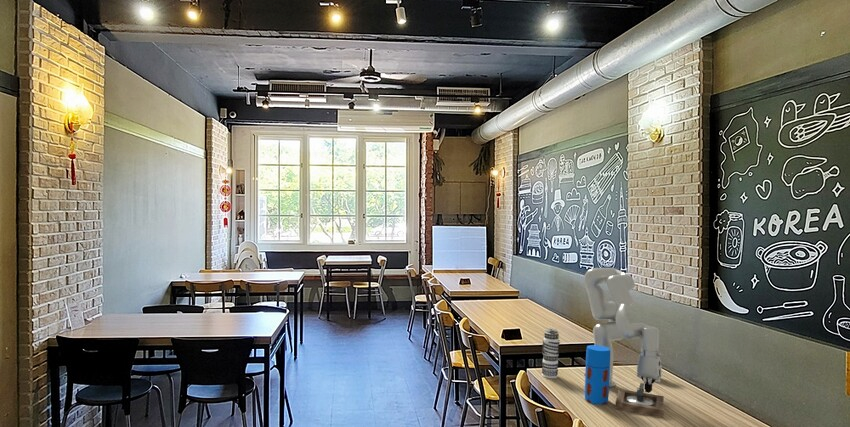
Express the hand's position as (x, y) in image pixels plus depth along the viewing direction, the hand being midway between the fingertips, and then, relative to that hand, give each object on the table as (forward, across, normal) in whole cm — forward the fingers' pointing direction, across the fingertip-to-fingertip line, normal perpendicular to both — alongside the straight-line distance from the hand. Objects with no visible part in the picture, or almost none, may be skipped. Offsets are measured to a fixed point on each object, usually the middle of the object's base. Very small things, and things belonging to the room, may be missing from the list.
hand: (648, 391), depth 255 cm
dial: (+4, +1, +5) cm, 6 cm away
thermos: (+6, +17, +17) cm, 25 cm away
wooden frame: (+5, +1, +7) cm, 9 cm away
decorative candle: (+5, +52, +2) cm, 53 cm away
